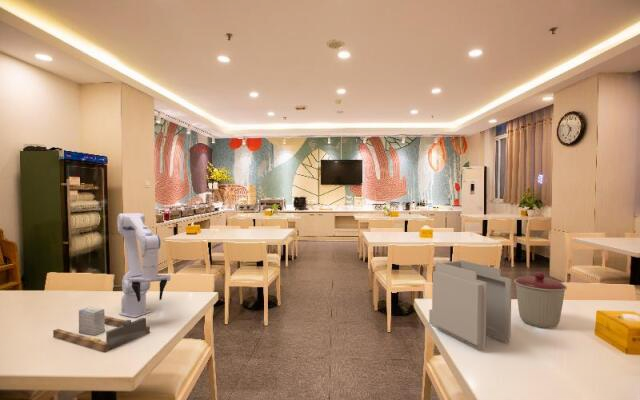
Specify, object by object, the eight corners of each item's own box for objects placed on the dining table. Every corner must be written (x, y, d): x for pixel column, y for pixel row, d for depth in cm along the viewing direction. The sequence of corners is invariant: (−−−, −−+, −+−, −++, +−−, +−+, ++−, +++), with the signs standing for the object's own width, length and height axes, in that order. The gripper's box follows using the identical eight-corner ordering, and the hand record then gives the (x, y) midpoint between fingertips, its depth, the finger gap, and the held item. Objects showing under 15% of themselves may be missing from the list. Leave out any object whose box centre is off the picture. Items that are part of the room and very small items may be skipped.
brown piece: (53, 337, 120) (53, 317, 119) (100, 320, 135) (100, 303, 135) (105, 352, 108) (105, 330, 108) (150, 332, 124) (150, 313, 124)
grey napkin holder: (454, 318, 141) (455, 257, 141) (514, 344, 117) (515, 270, 116) (423, 325, 134) (423, 260, 133) (479, 354, 110) (480, 275, 109)
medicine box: (105, 331, 125) (105, 308, 125) (93, 336, 121) (93, 312, 121) (90, 328, 128) (90, 306, 128) (78, 333, 123) (78, 309, 123)
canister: (560, 319, 141) (561, 270, 141) (571, 335, 125) (572, 279, 124) (511, 312, 149) (512, 265, 148) (515, 327, 132) (516, 274, 132)
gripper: (127, 269, 125) (127, 305, 125) (169, 266, 130) (169, 301, 130) (130, 265, 132) (130, 299, 132) (170, 263, 136) (170, 295, 137)
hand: (149, 299), depth 131 cm, fingers open, 7 cm apart
